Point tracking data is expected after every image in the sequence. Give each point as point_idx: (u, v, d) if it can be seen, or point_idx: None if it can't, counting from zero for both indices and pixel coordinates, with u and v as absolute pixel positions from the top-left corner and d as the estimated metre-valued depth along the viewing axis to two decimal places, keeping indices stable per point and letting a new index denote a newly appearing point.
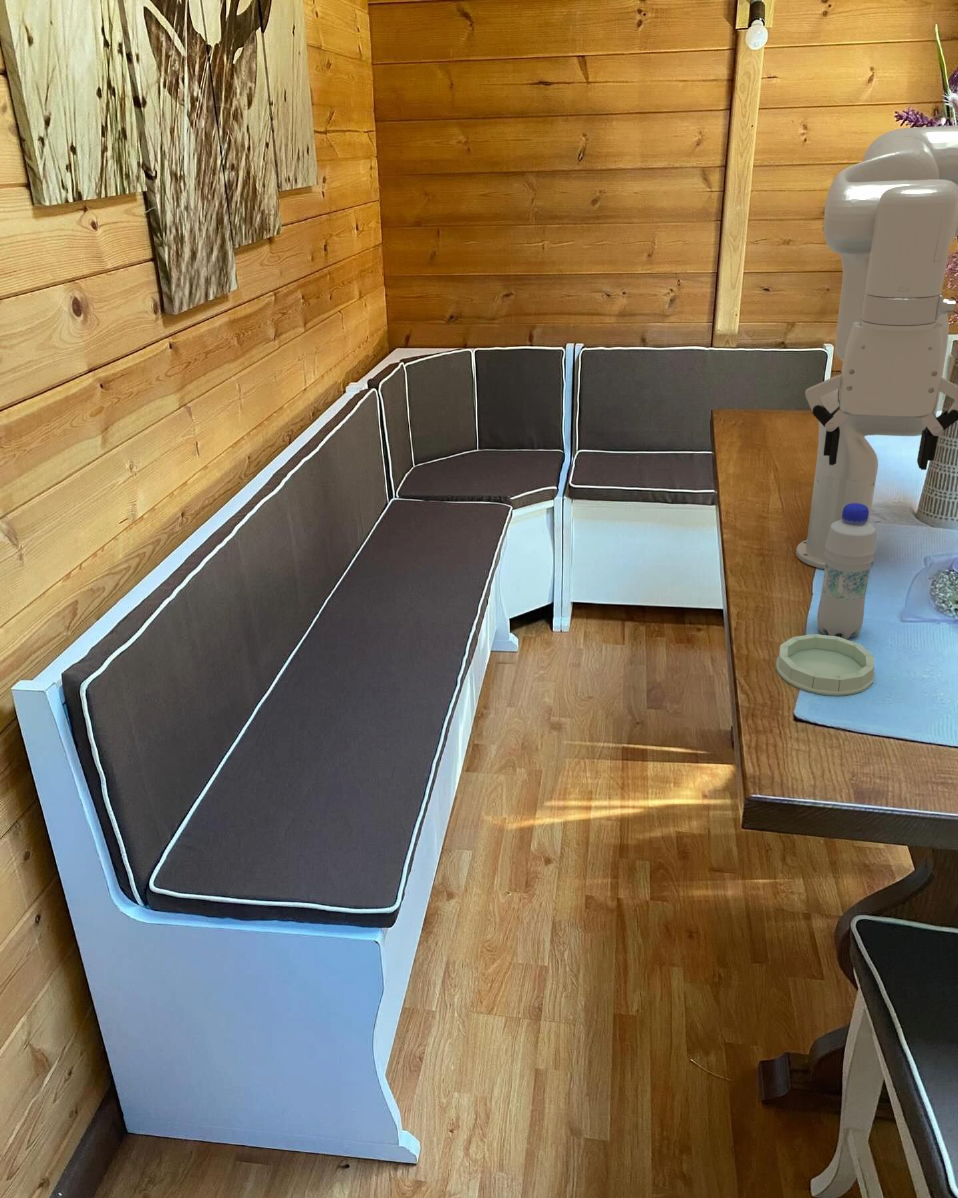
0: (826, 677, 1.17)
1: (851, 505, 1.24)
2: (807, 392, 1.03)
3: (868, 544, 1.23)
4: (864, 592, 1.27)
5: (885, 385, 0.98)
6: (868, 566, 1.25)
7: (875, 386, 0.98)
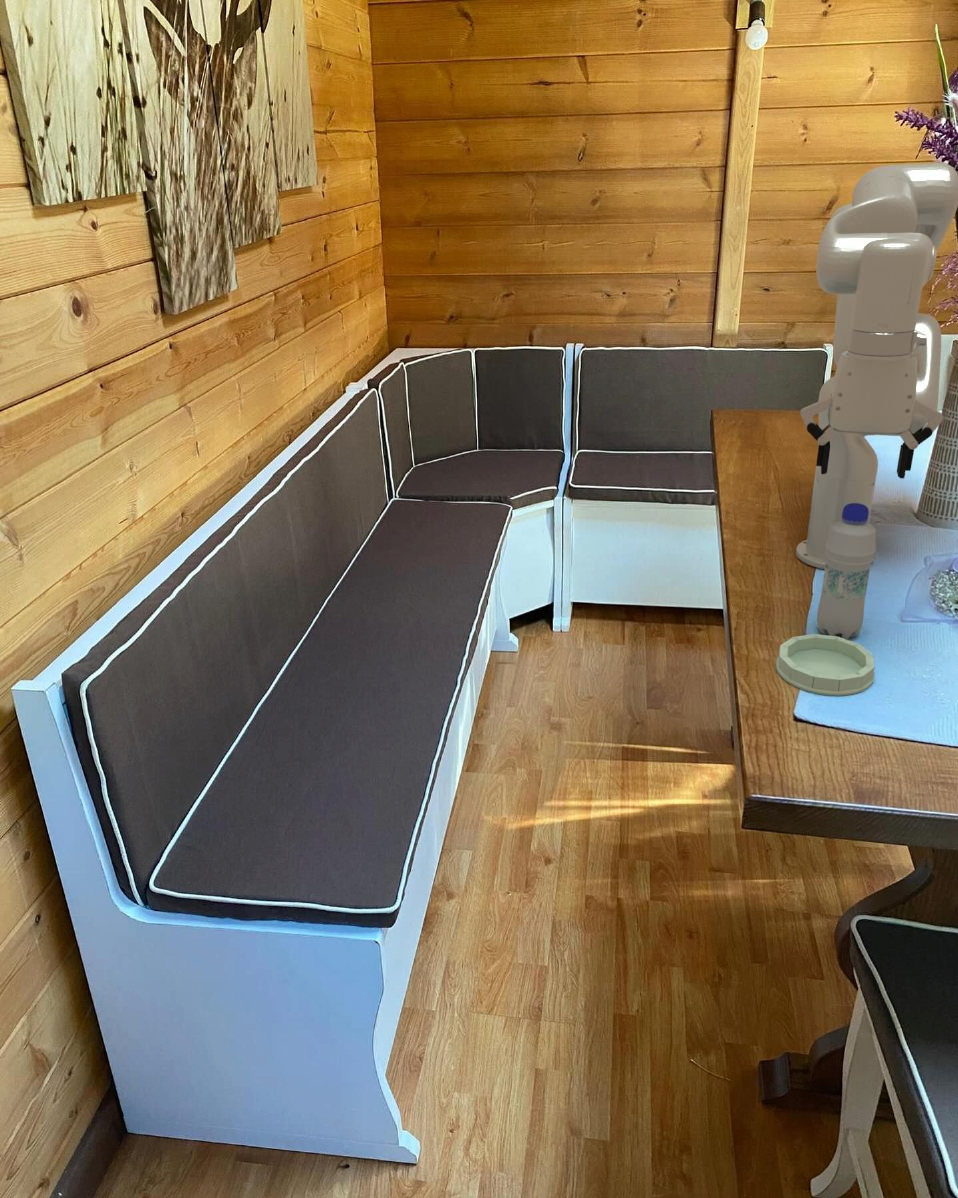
0: (826, 677, 1.17)
1: (851, 505, 1.24)
2: (802, 411, 1.20)
3: (868, 544, 1.23)
4: (864, 592, 1.27)
5: (868, 406, 1.15)
6: (868, 566, 1.25)
7: (860, 407, 1.15)
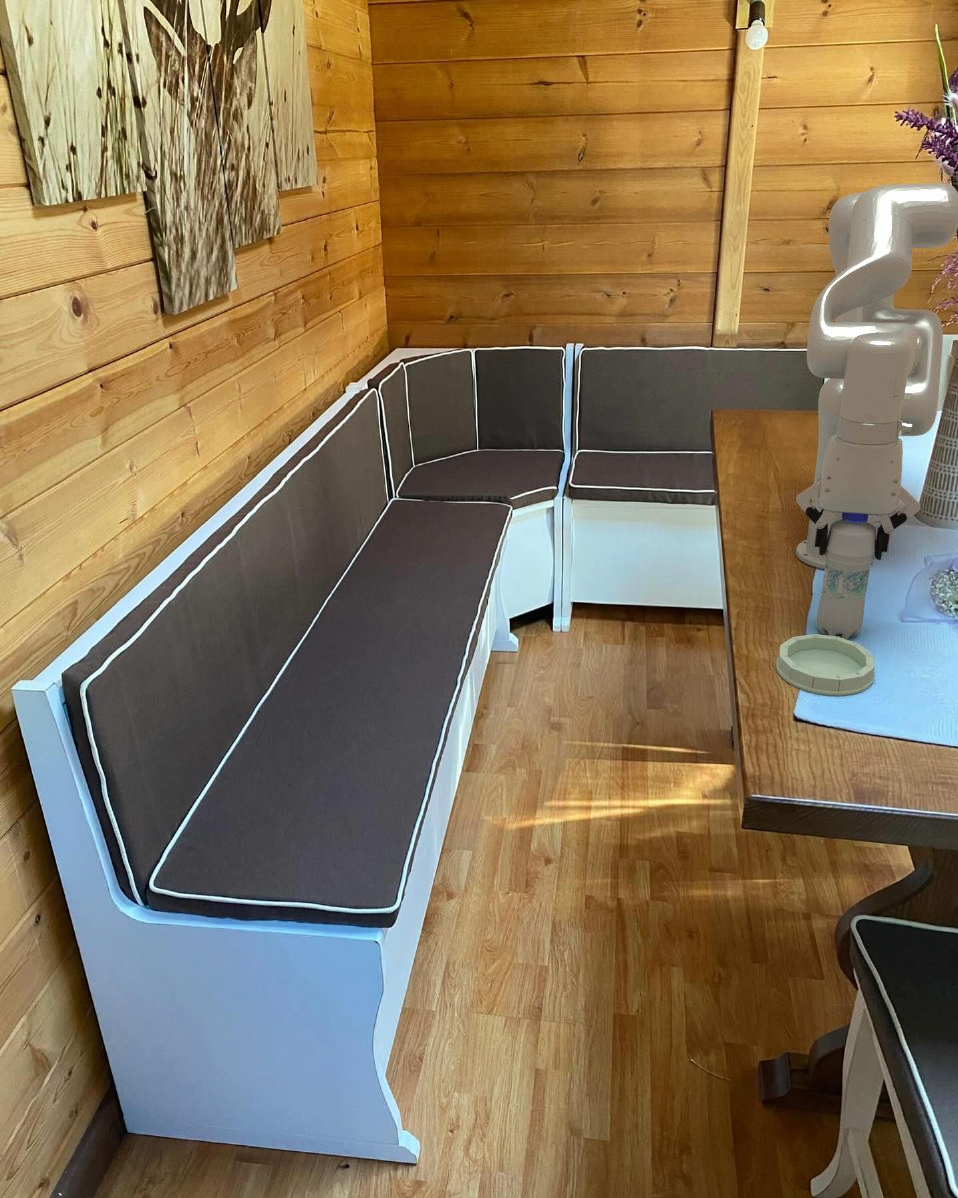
0: (826, 677, 1.17)
1: None
2: (797, 499, 1.25)
3: (868, 544, 1.23)
4: (864, 592, 1.27)
5: (856, 489, 1.20)
6: (868, 566, 1.25)
7: (848, 490, 1.21)
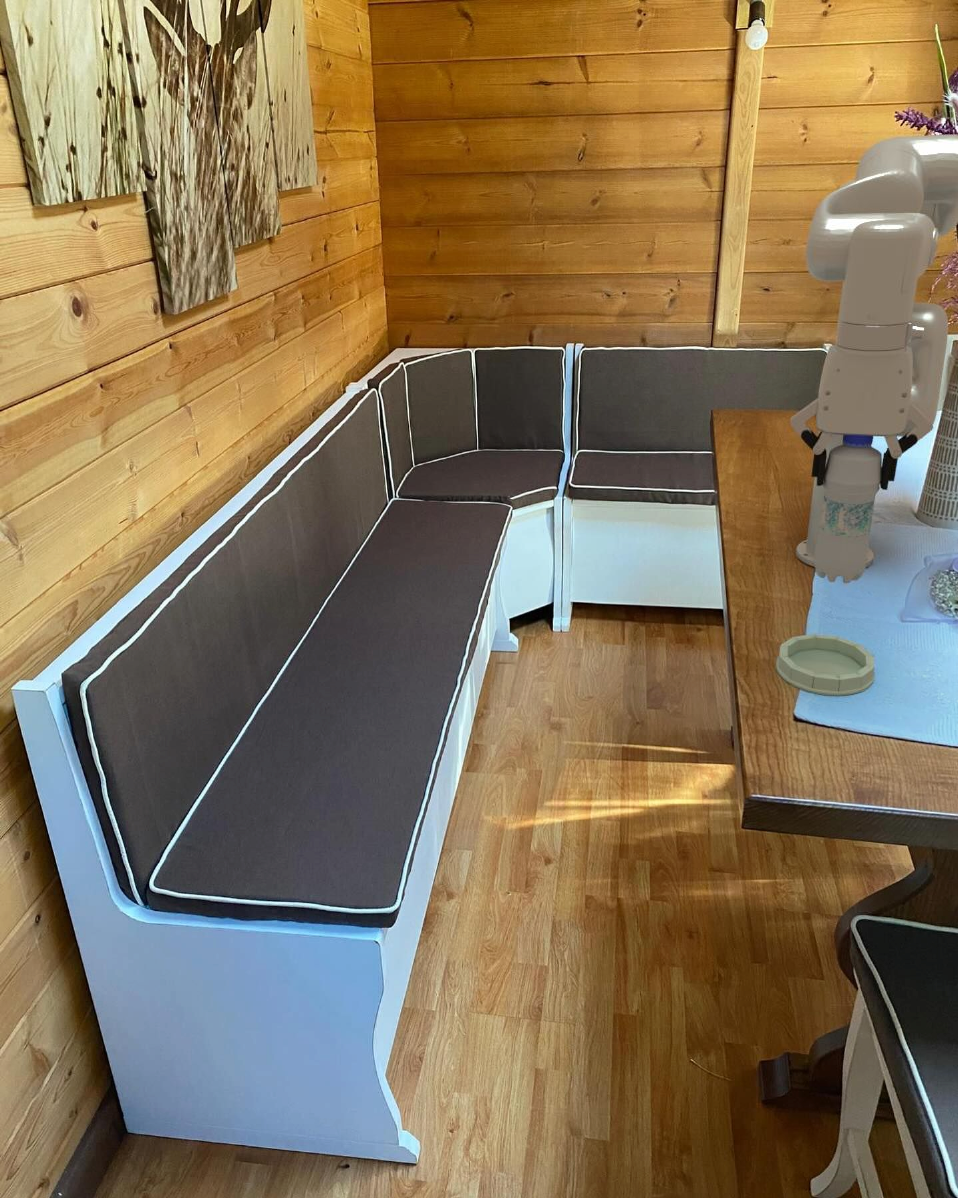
0: (826, 677, 1.17)
1: None
2: (791, 421, 1.09)
3: (873, 470, 1.07)
4: (868, 528, 1.11)
5: (859, 406, 1.04)
6: (873, 497, 1.09)
7: (849, 407, 1.05)
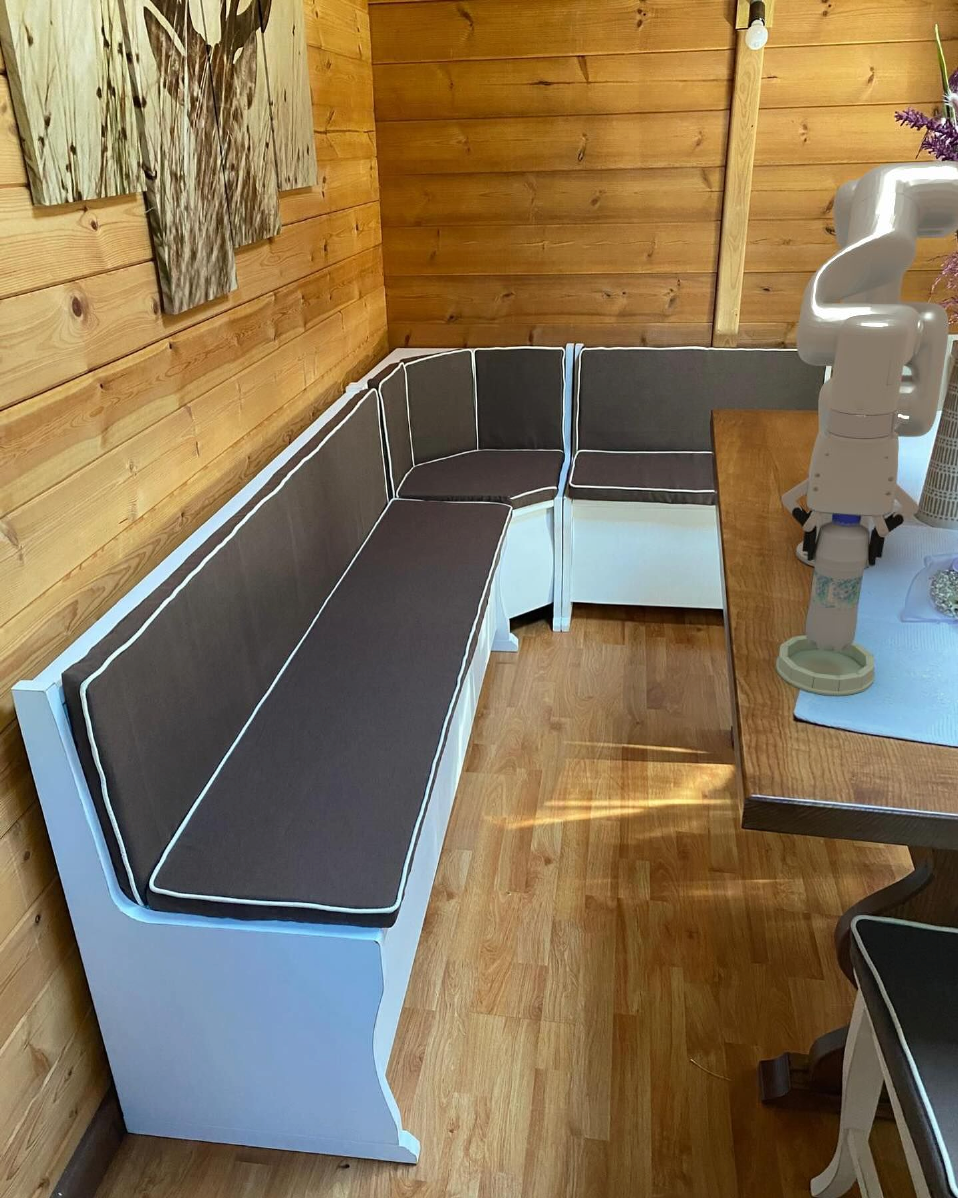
0: (826, 677, 1.17)
1: None
2: (783, 499, 1.14)
3: (861, 548, 1.12)
4: (857, 601, 1.16)
5: (847, 488, 1.09)
6: (861, 572, 1.14)
7: (838, 488, 1.09)
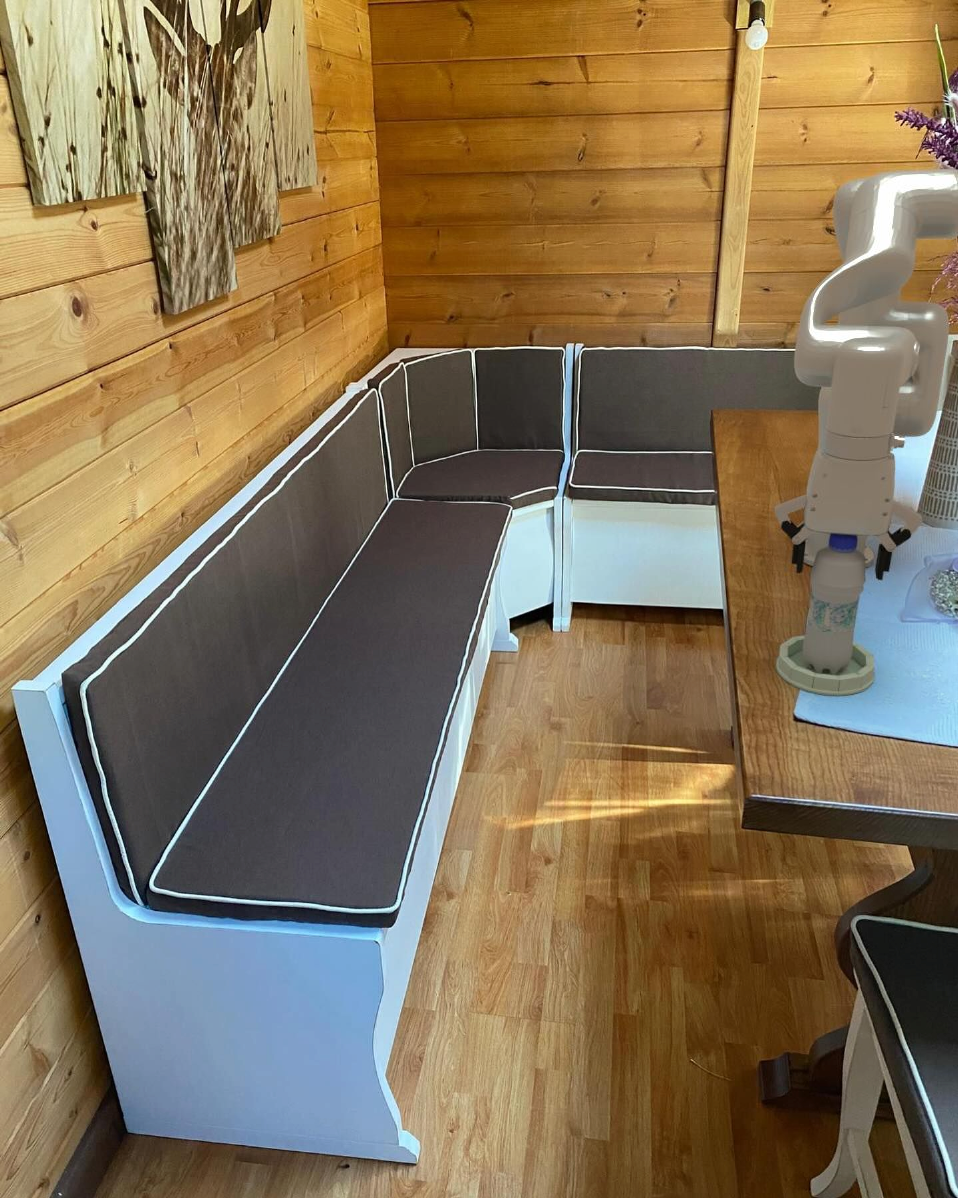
0: (826, 677, 1.17)
1: None
2: (776, 509, 1.15)
3: (857, 574, 1.13)
4: (853, 625, 1.18)
5: (844, 508, 1.10)
6: (857, 597, 1.16)
7: (835, 509, 1.10)
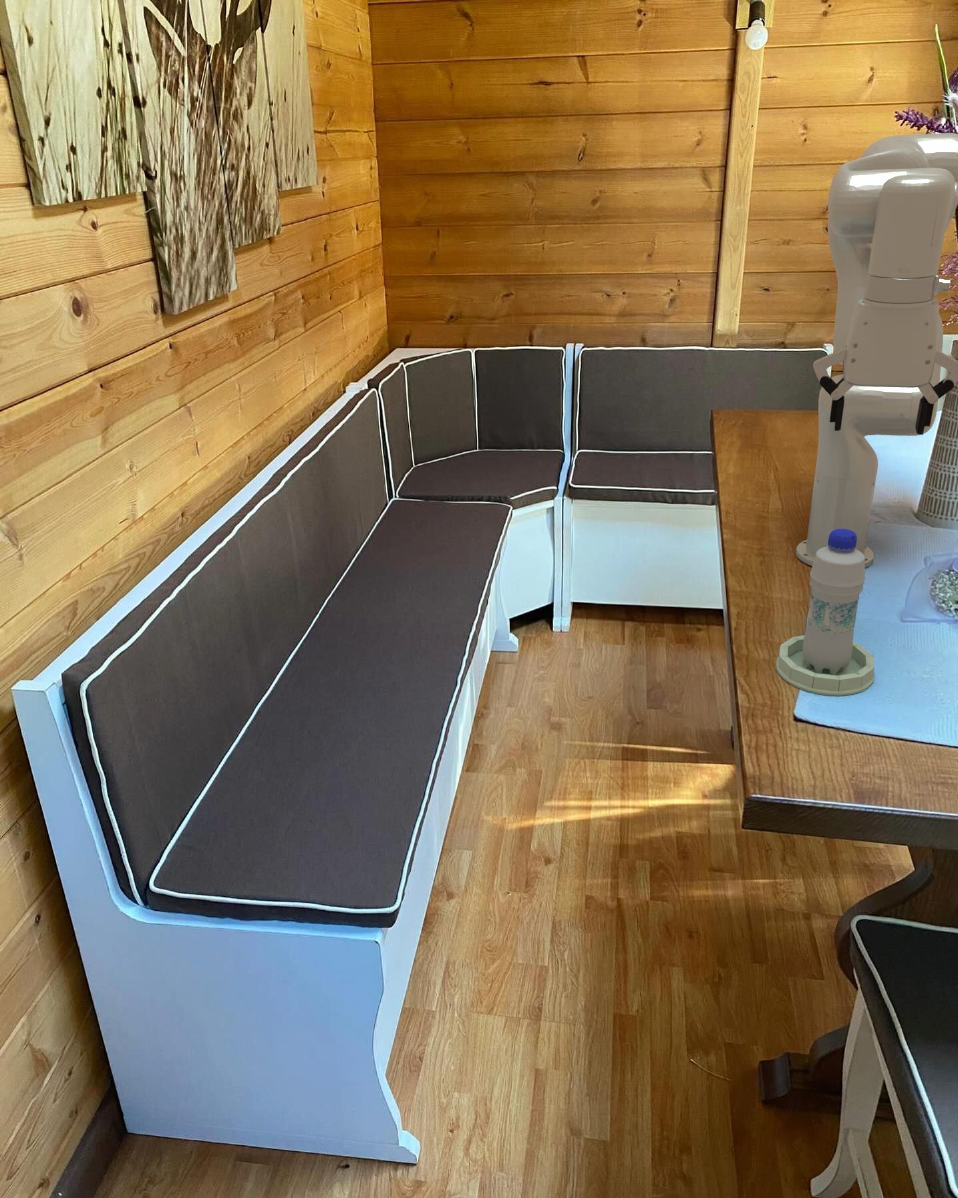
0: (826, 677, 1.17)
1: (838, 531, 1.14)
2: (815, 364, 1.13)
3: (857, 573, 1.13)
4: (852, 624, 1.18)
5: (885, 357, 1.08)
6: (857, 597, 1.16)
7: (876, 359, 1.08)
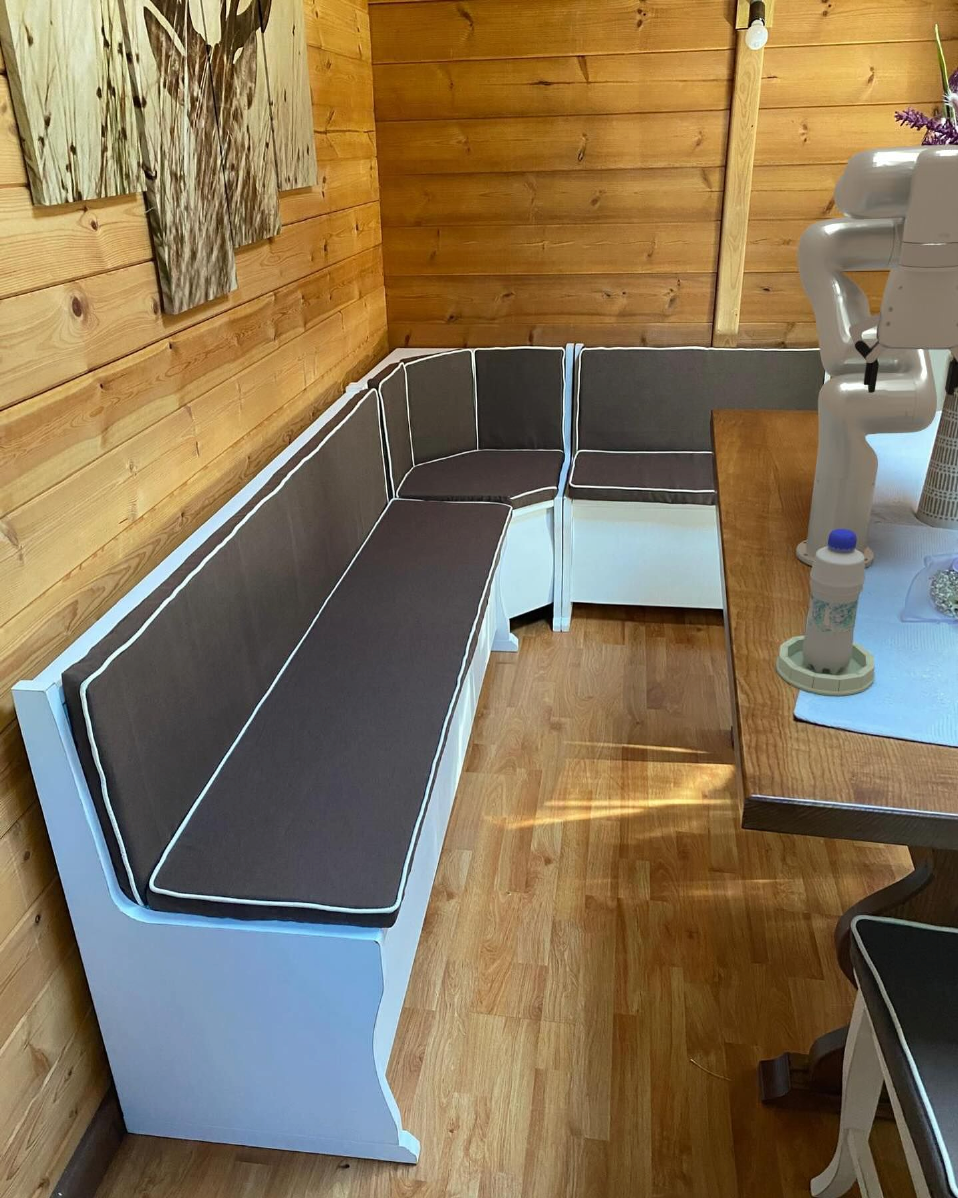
0: (826, 677, 1.17)
1: (837, 531, 1.14)
2: (850, 329, 1.19)
3: (856, 573, 1.13)
4: (852, 624, 1.18)
5: (919, 320, 1.15)
6: (856, 597, 1.16)
7: (910, 321, 1.15)
